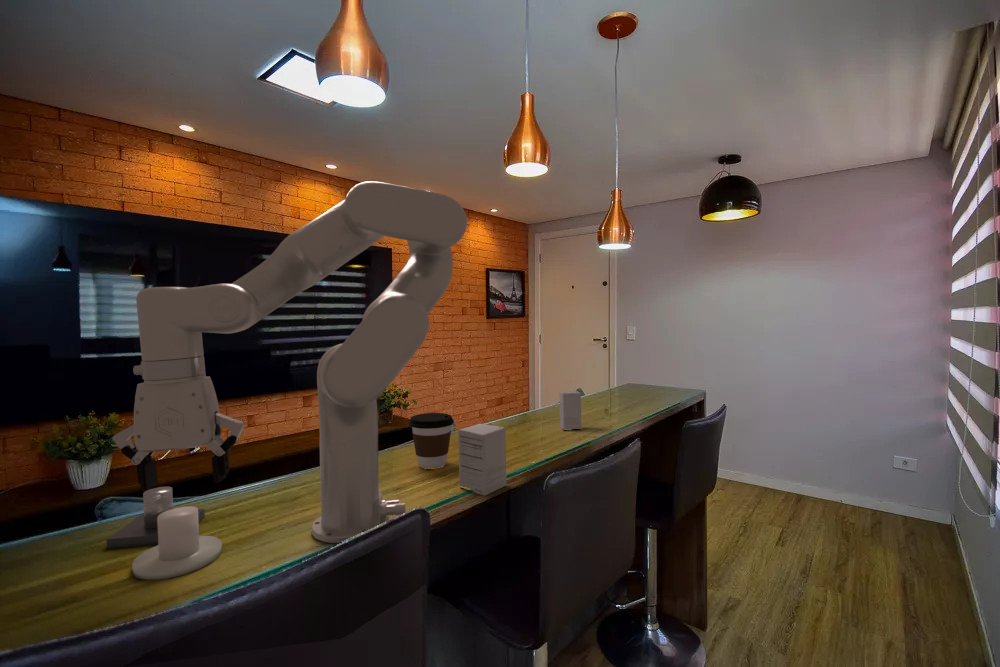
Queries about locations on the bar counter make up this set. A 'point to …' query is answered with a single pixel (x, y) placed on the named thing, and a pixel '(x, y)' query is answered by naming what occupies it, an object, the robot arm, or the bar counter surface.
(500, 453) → the supplement box
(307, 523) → the bar counter surface
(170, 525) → the cap
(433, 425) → the coffee cup
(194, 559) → the white domed disc
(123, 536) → the square base with cylinder
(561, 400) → the skincare box
